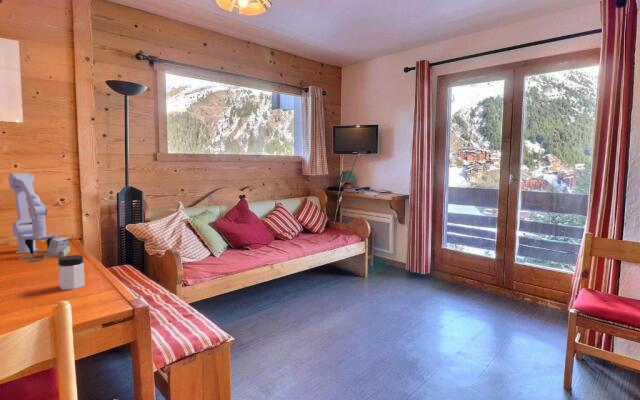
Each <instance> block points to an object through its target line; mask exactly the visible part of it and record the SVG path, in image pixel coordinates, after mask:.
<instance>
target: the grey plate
mask: <svg viewBox="0 0 640 400" xmlns="http://www.w3.org/2000/svg"><path fill="white" fill-rule="evenodd" d="M44 259H45V258H44V257H39V258H36V257H35V258H32V259H29V260H27V261H28V263H33V262H42V261H43V260H44Z"/></svg>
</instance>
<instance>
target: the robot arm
mask: <svg viewBox="0 0 640 400" xmlns="http://www.w3.org/2000/svg"><path fill="white" fill-rule="evenodd" d="M34 182H35V178H34V174H32V173H31V172H29V173H27V172H26V173H21V172H20V173H18V172H17V173H13V172H11V173H10V174H9V176H8V185H9V189H11V190H12V191H13V193H14V197H15V198H14V199H15V205H16V212H17V220H15V221H14V222H13V223H12V234H13V235H14V236H15V237H16V238H17V251H16V252H14V253H15V254H24V253H27V254H28V252H29V251H30V253H31V254H30V255H34V254H33V251H38V249H39V248H38V247H37V246H36V245H37V243H36V241H38V240H41V241H43V240H46V246H47V249H46V250H47V251H48V247H49V244H50V241H51V239H54V238H58V237H57V234H47V225H46V216H48V215H47V214H48V208H47V206H46V205H45V204H44V203H43V202H42V201H41V198H40V196H39V194H37V193H35V190H34V186H33V185H34Z"/></svg>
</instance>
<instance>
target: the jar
mask: <svg viewBox="0 0 640 400" xmlns="http://www.w3.org/2000/svg"><path fill="white" fill-rule="evenodd" d="M57 260H58V261H57V262H58V267H57V269H58V284H59V285H58V287H59V288H60V290H61V291H69V290H77V289H79V288H82V287H85V285H86V284H85V283H86V282H85V263H84V256H83V255H81V254H70V255H66V256H64V257H58V259H57Z"/></svg>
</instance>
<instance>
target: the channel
mask: <svg viewBox="0 0 640 400" xmlns="http://www.w3.org/2000/svg"><path fill="white" fill-rule="evenodd" d="M70 252H71V246H70V245H67V246H66V248H65V249H64V250H63V251H62V254H53V255H49V254H47V249H46V250H35V251H33V254H31V253H30V251H29V252H28V253H27V256H20V257H19V261H29V260H31V259H33V255H41V254H42V255H43V254H44V255H43V258H44V259H53V258H60V257H64V256H68V254H69V253H70ZM28 255H29V256H28Z"/></svg>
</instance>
